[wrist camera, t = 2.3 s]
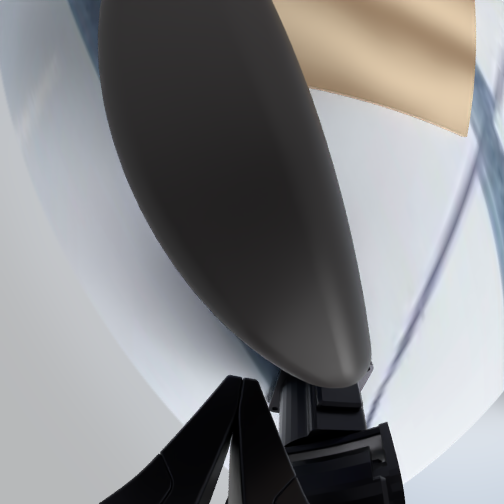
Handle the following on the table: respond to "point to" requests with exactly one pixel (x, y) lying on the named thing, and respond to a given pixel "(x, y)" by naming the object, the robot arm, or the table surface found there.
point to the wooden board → (389, 53)
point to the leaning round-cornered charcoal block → (237, 176)
